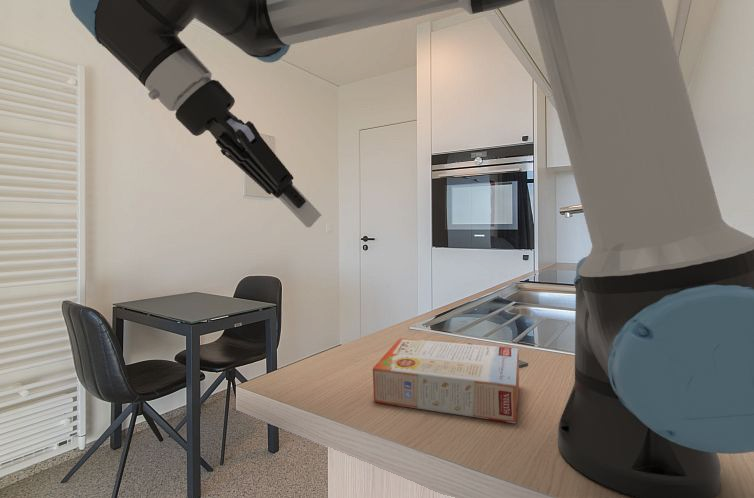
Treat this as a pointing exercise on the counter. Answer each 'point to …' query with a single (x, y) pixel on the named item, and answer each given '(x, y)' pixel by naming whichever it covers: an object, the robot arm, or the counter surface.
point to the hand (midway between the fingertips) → (314, 221)
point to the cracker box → (450, 378)
